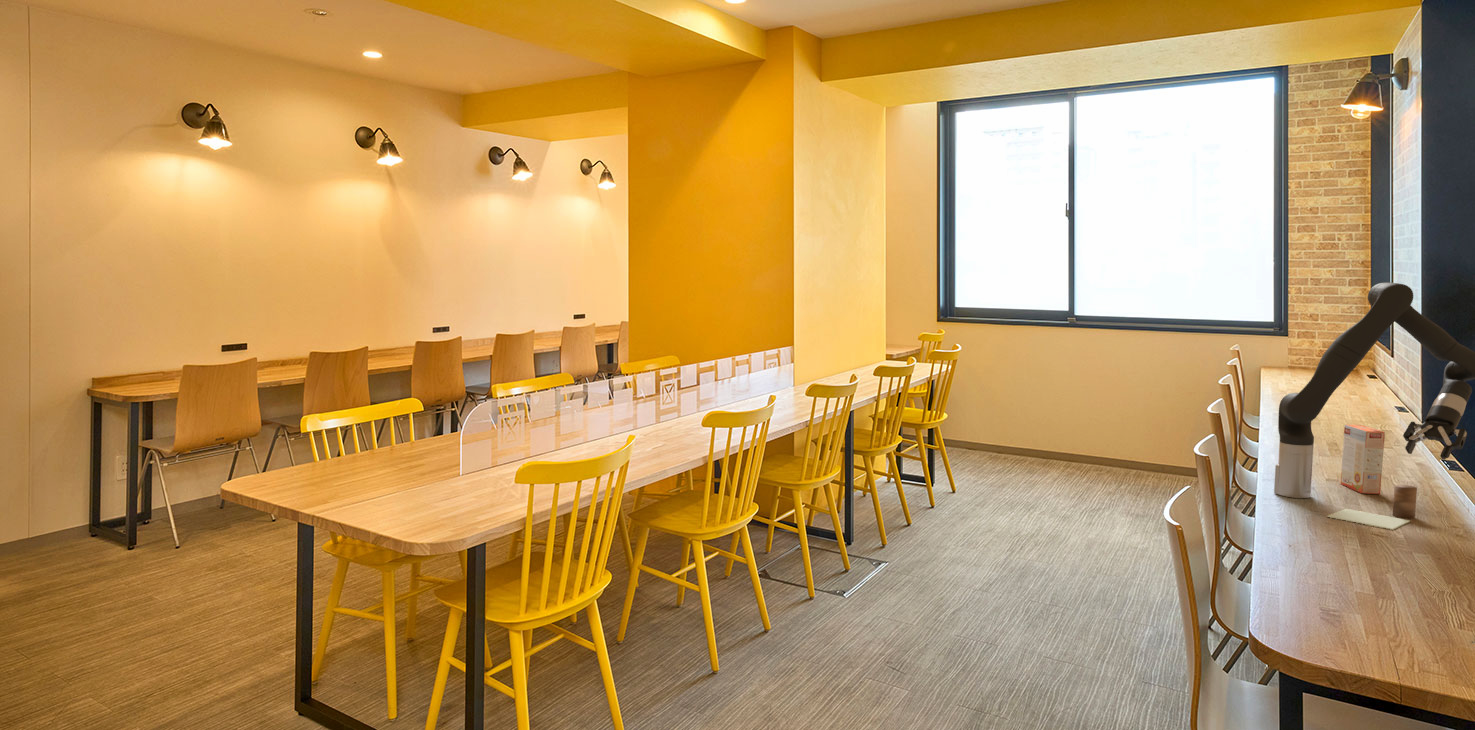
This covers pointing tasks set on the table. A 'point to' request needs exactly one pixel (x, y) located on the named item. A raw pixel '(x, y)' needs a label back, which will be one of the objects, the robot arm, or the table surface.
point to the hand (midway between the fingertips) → (1425, 455)
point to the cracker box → (1362, 459)
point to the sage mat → (1369, 519)
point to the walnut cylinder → (1404, 501)
